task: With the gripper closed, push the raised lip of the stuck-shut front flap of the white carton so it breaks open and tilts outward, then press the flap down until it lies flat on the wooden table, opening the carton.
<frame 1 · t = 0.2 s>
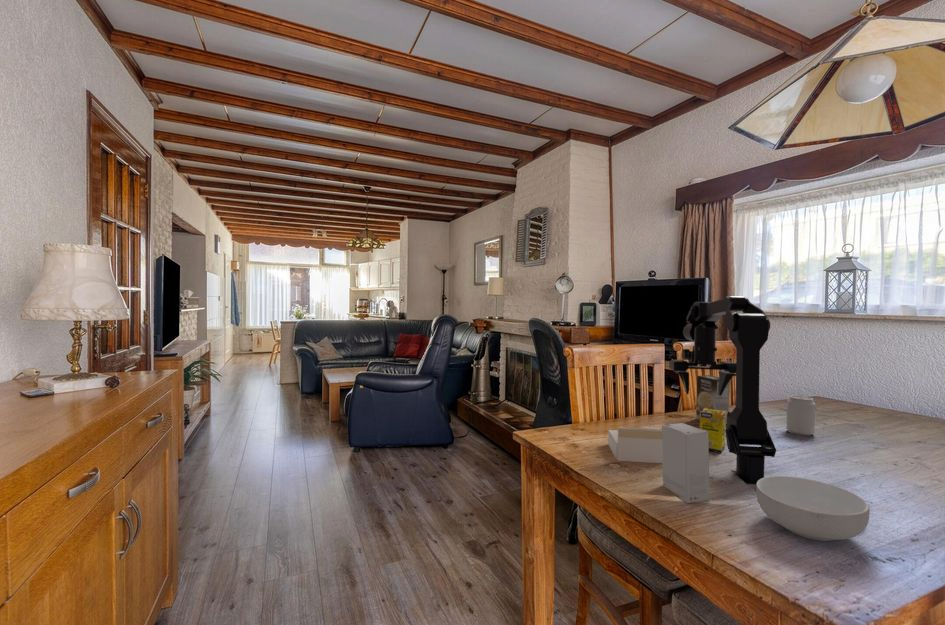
hand: (703, 394, 133), 14 cm above the table, tool pointing down, fingers open, 9 cm apart
coffee box: (711, 422, 156), on the table
flap: (641, 446, 113), point 5 cm above the table, hinge at 0.0°
cereal bowl: (808, 531, 82), on the table
supplement box: (711, 449, 127), on the table
skincare box: (684, 495, 96), on the table
carton: (634, 455, 120), on the table
can: (800, 433, 144), on the table
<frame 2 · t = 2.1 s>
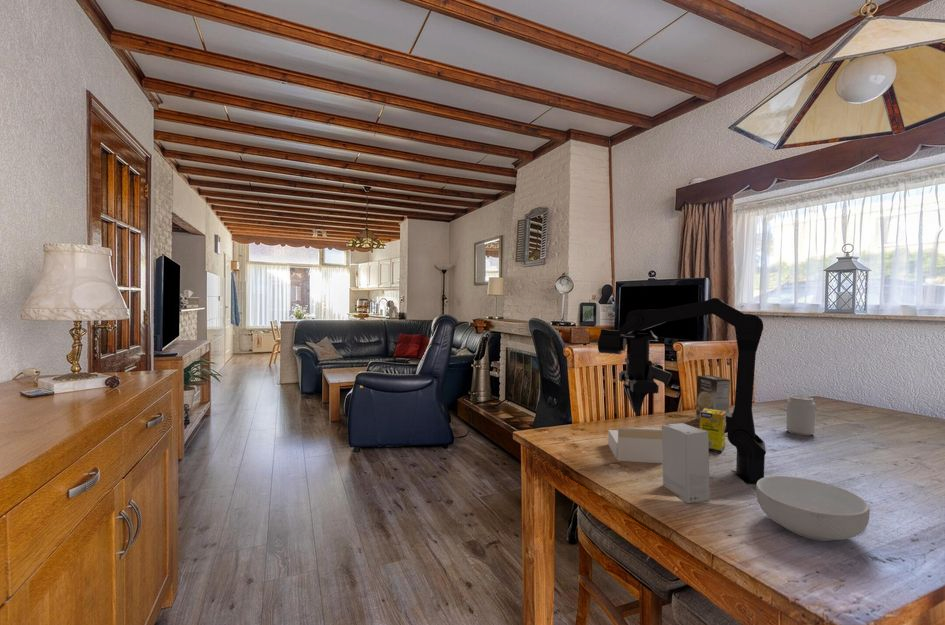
hand: (636, 412, 119), 12 cm above the table, tool pointing down, fingers closed
nothing on the table moved.
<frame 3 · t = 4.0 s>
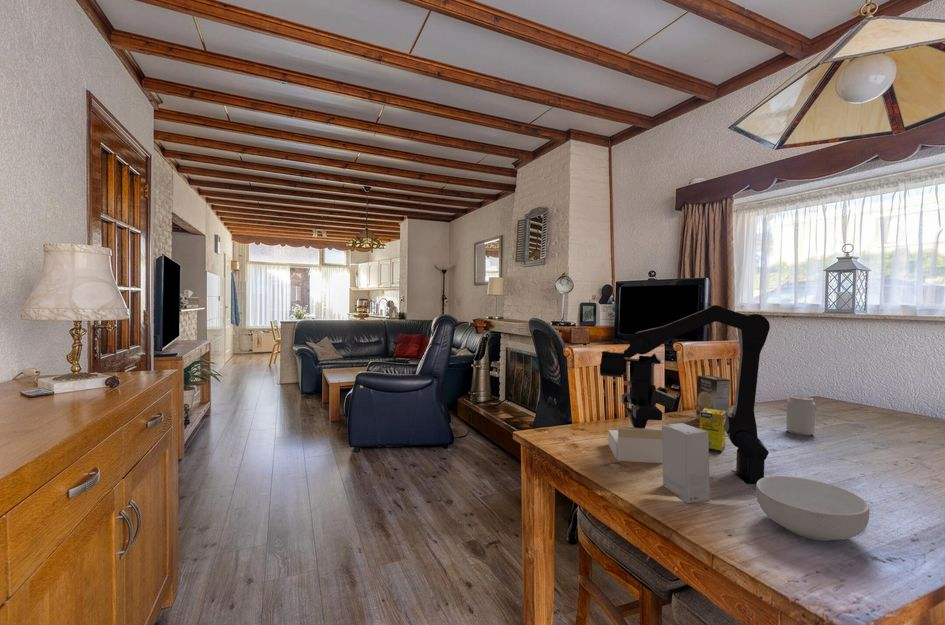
hand: (639, 437, 115), 6 cm above the table, tool pointing down, fingers closed
flap: (641, 446, 113), point 5 cm above the table, hinge at 0.4°, touching gripper
everything else where it was.
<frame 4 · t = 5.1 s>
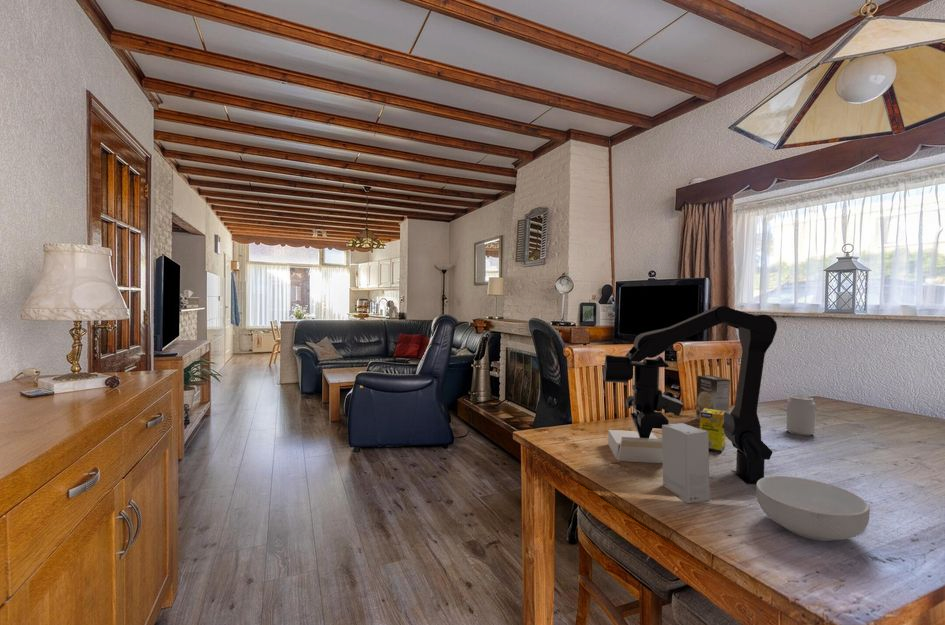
hand: (644, 444, 110), 6 cm above the table, tool pointing down, fingers closed, pressing on flap
flap: (643, 451, 111), point 4 cm above the table, hinge at 33.3°, touching gripper
everything else where it was.
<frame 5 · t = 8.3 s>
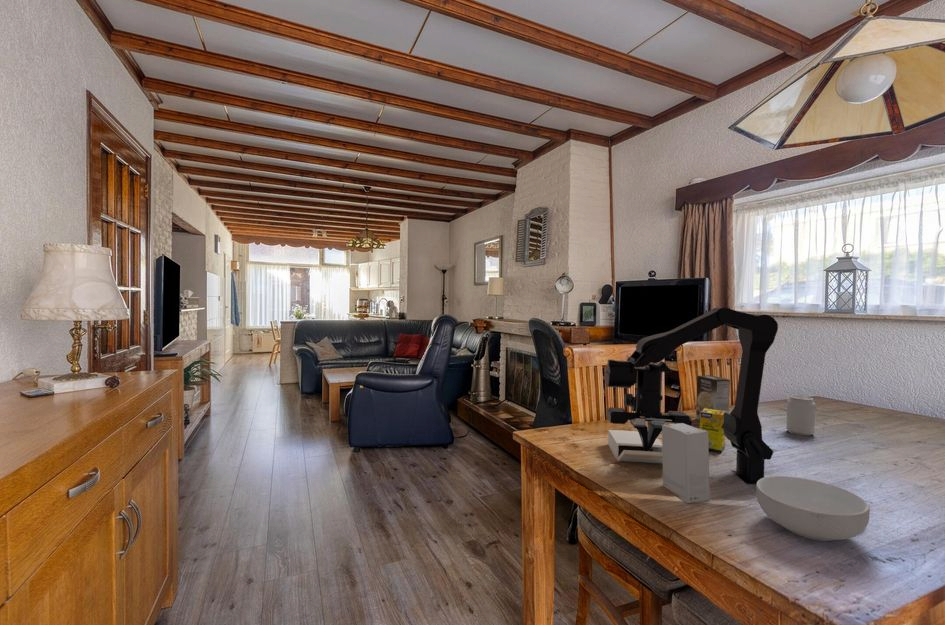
hand: (646, 452, 108), 5 cm above the table, tool pointing down, fingers closed, pressing on flap
flap: (644, 457, 110), point 3 cm above the table, hinge at 57.3°, touching gripper
everything else where it was.
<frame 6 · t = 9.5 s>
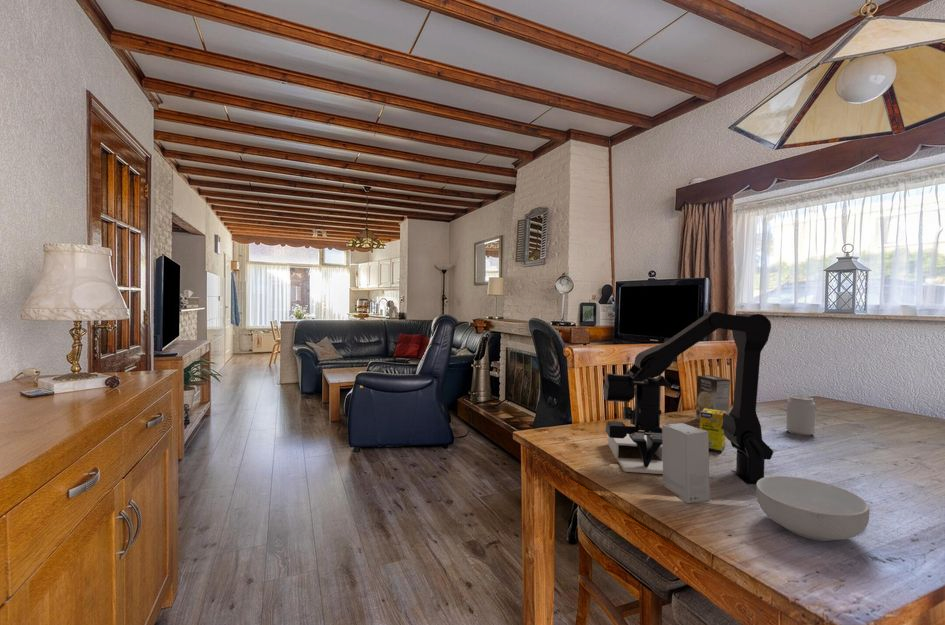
hand: (645, 466, 108), 2 cm above the table, tool pointing down, fingers closed
flap: (644, 466, 110), point 1 cm above the table, hinge at 85.7°
everything else where it was.
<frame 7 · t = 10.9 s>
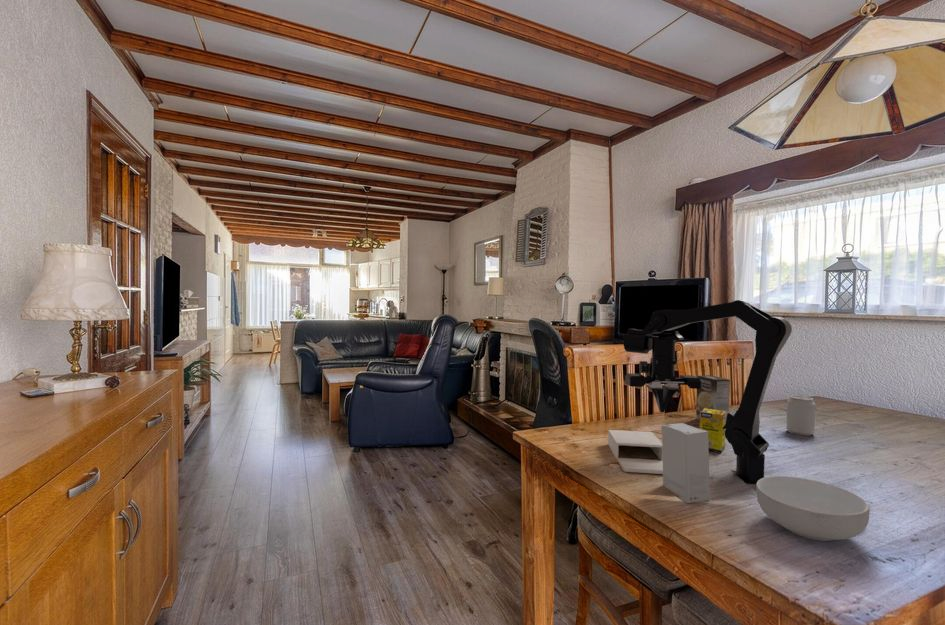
hand: (661, 412, 120), 12 cm above the table, tool pointing down, fingers closed
nothing on the table moved.
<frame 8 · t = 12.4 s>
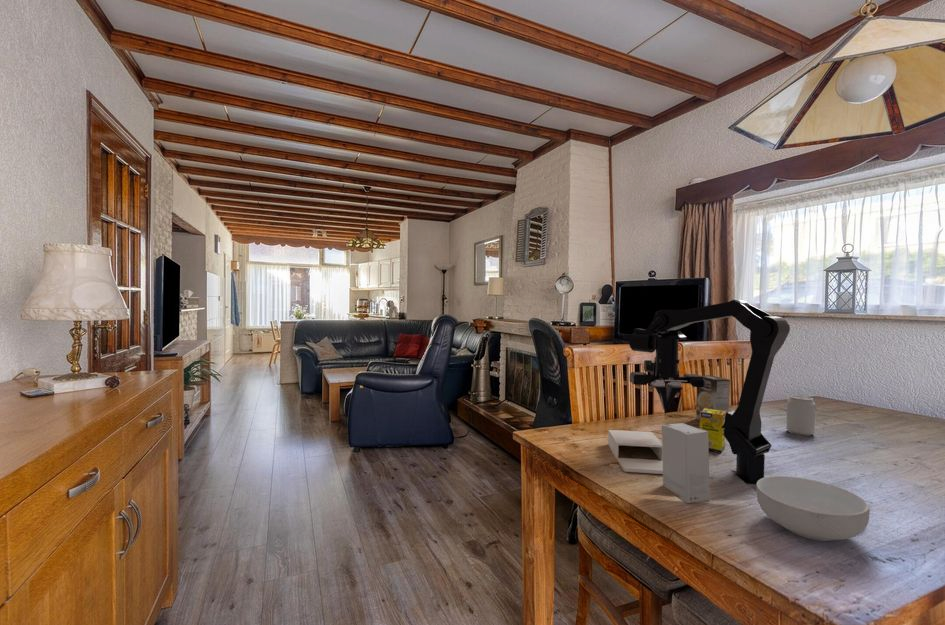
hand: (665, 410, 123), 12 cm above the table, tool pointing down, fingers closed
nothing on the table moved.
at the end: flap at +86° (first picture: +0°); flap tilted 86° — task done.
